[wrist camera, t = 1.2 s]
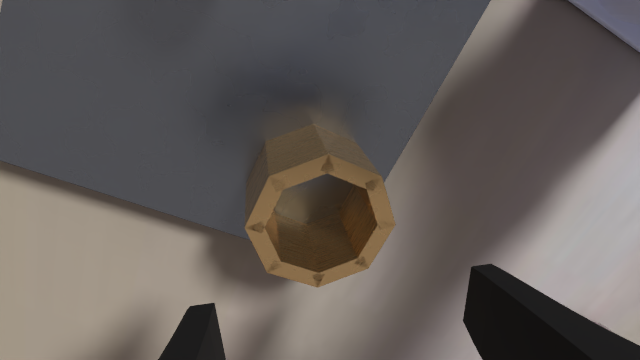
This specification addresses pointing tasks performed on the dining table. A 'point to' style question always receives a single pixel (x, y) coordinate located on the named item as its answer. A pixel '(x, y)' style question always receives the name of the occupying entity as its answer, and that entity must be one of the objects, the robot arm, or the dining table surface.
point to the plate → (216, 92)
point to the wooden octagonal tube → (324, 234)
